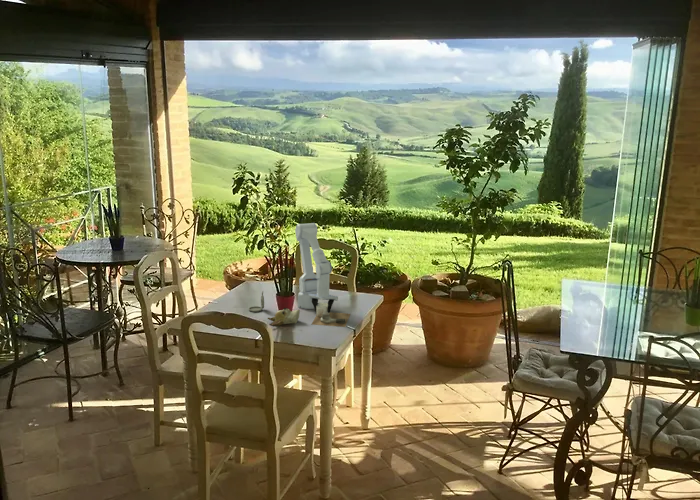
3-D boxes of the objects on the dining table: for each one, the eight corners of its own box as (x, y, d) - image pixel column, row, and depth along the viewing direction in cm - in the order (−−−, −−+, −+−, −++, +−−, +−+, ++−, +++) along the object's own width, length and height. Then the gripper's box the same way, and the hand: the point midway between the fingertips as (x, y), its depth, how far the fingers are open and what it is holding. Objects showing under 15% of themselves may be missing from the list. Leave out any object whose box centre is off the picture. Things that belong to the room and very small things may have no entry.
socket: (316, 316, 280) (316, 306, 279) (318, 313, 286) (318, 302, 284) (327, 317, 280) (327, 306, 279) (329, 314, 285) (329, 303, 284)
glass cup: (246, 310, 292) (246, 291, 289) (259, 306, 298) (259, 287, 296) (256, 314, 286) (256, 294, 284) (269, 310, 292) (269, 291, 290)
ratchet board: (311, 327, 270) (311, 316, 269) (318, 314, 289) (318, 303, 287) (345, 330, 268) (345, 318, 267) (350, 316, 287) (350, 306, 286)
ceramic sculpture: (301, 309, 267) (268, 313, 264) (301, 327, 269) (269, 331, 266) (297, 303, 278) (266, 306, 274) (298, 320, 280) (267, 323, 276)
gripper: (306, 288, 276) (306, 315, 279) (336, 290, 275) (336, 317, 278) (309, 284, 283) (309, 310, 286) (339, 286, 282) (338, 312, 285)
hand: (322, 313), depth 282 cm, fingers closed on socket, 5 cm apart
